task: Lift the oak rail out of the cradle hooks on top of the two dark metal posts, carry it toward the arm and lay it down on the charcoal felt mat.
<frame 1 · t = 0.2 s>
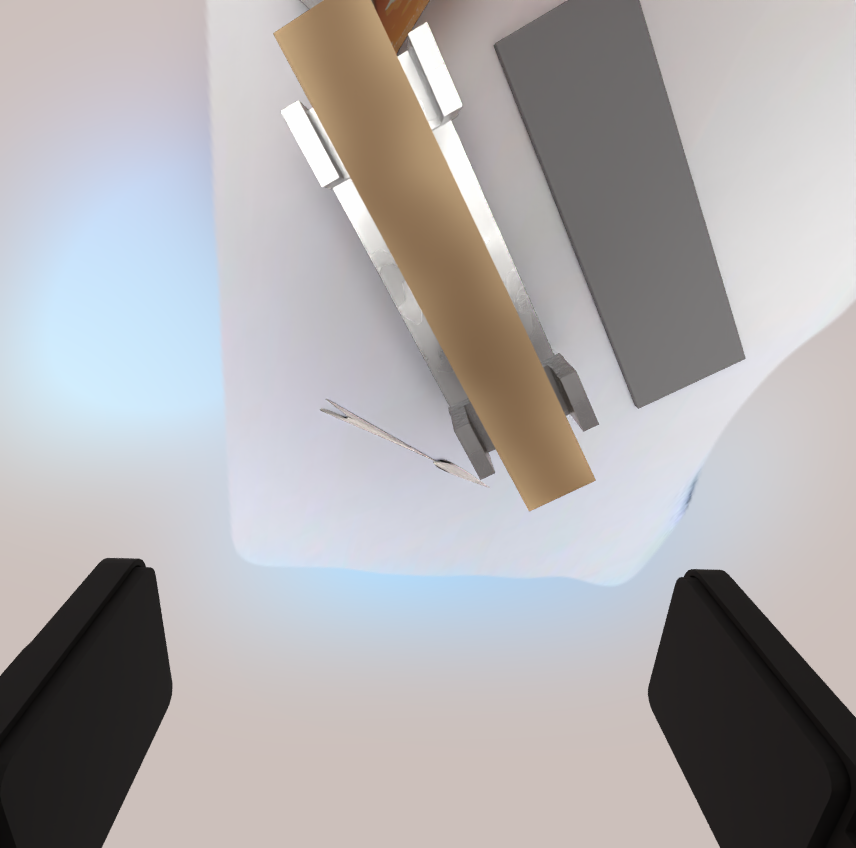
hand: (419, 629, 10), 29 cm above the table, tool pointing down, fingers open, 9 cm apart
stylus: (434, 456, 42), on the table
rail: (453, 280, 26), point 11 cm above the table, touching rack
mat: (630, 217, 35), on the table
rack: (440, 257, 36), on the table
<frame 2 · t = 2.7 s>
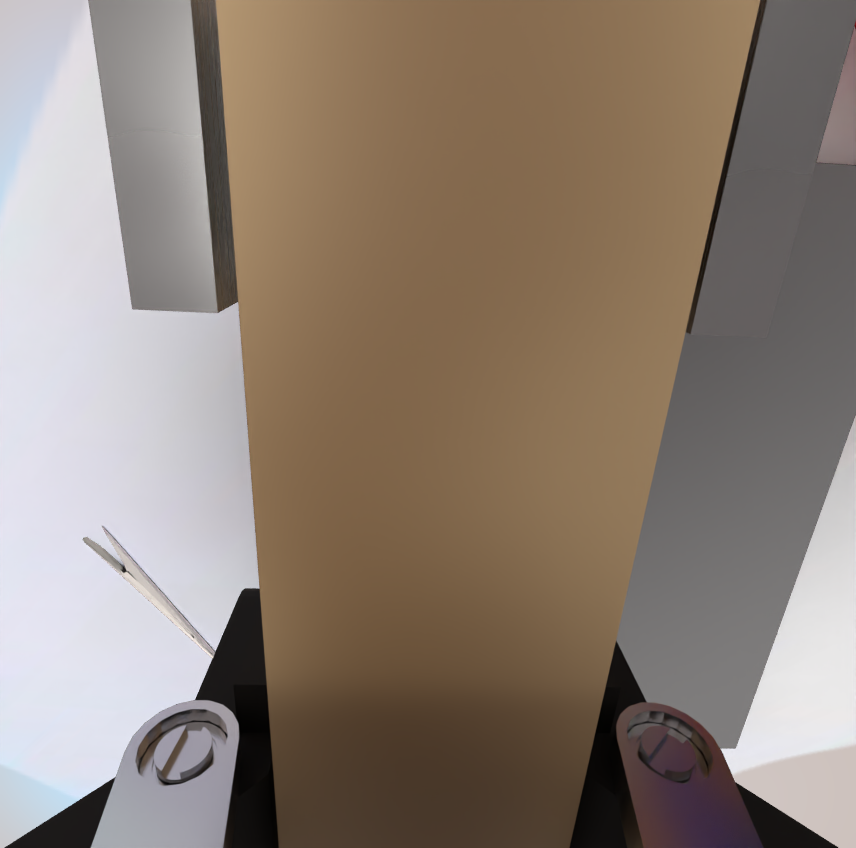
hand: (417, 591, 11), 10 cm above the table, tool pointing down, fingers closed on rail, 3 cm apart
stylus: (248, 674, 25), on the table
rail: (419, 637, 10), point 11 cm above the table, touching gripper, small box
mat: (710, 510, 22), on the table
rack: (413, 417, 20), on the table
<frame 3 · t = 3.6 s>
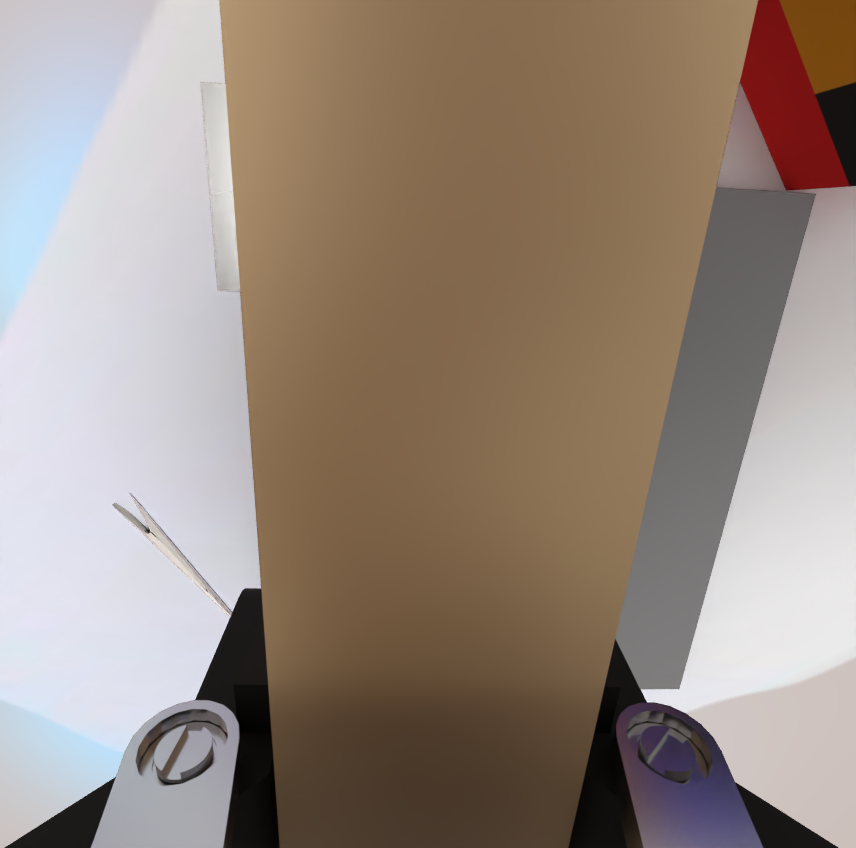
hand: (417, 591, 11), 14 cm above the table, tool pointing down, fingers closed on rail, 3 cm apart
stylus: (254, 627, 28), on the table
rail: (419, 635, 10), point 15 cm above the table, touching gripper
mat: (647, 476, 26), on the table
rack: (395, 397, 24), on the table
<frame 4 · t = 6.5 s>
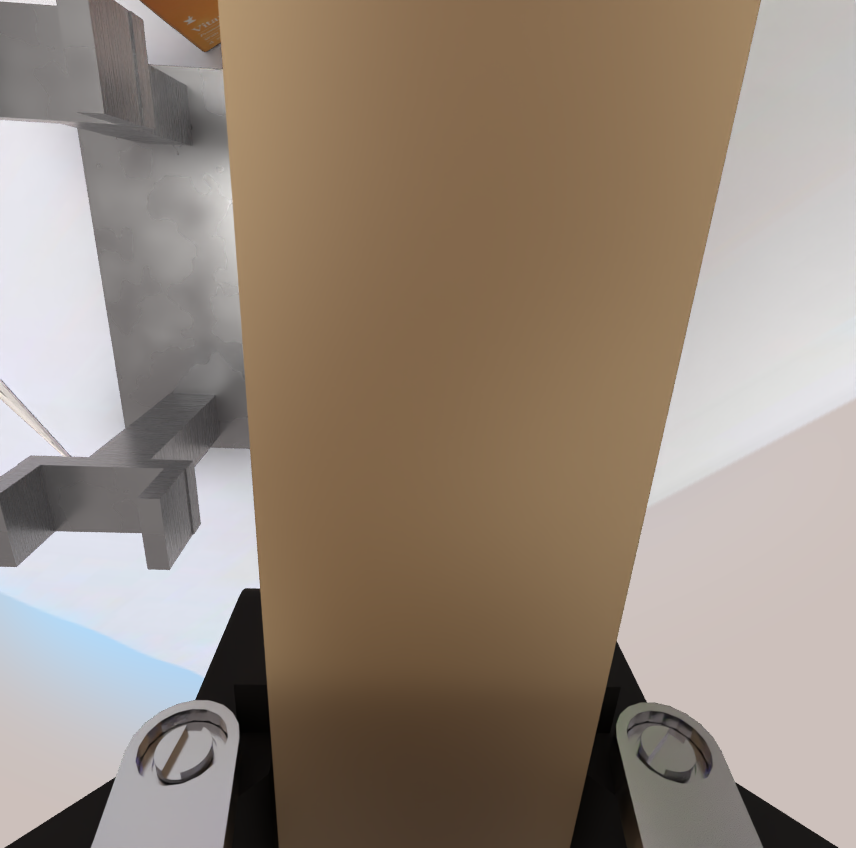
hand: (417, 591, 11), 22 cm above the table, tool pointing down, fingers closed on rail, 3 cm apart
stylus: (101, 480, 34), on the table
rail: (419, 638, 10), point 23 cm above the table, touching gripper
rack: (187, 276, 29), on the table
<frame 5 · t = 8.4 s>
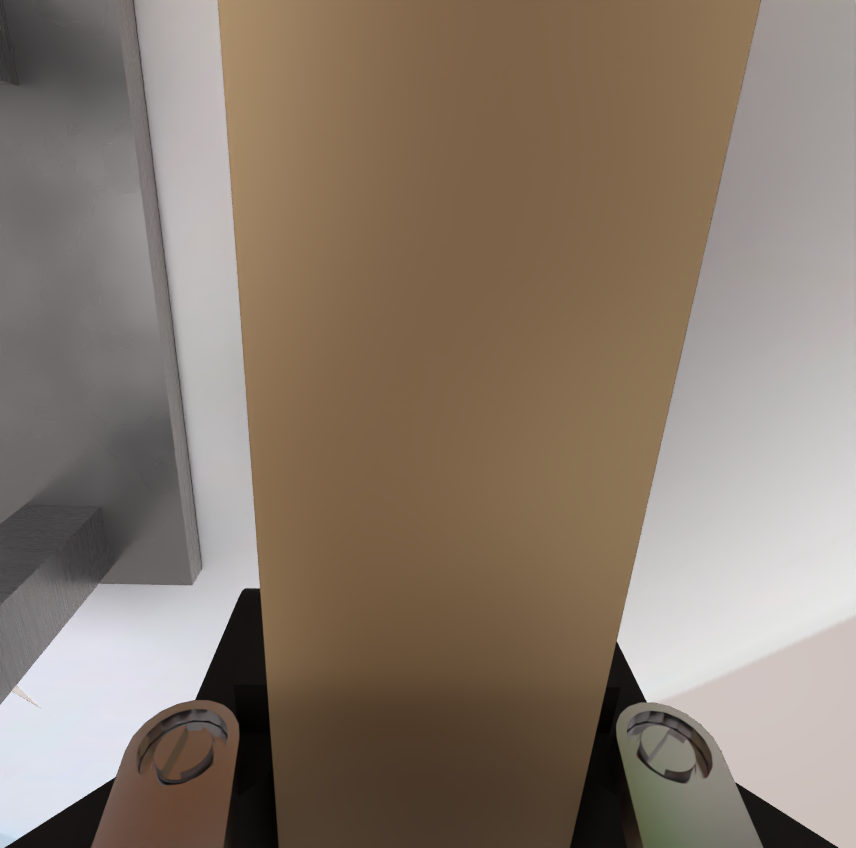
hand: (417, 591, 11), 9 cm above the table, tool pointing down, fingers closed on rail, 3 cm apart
rail: (419, 639, 10), point 10 cm above the table, touching gripper
rack: (43, 317, 17), on the table
when the fingers open (1 cm above the table, at t = 10.3 s): rail drops 2 cm, resting on mat.
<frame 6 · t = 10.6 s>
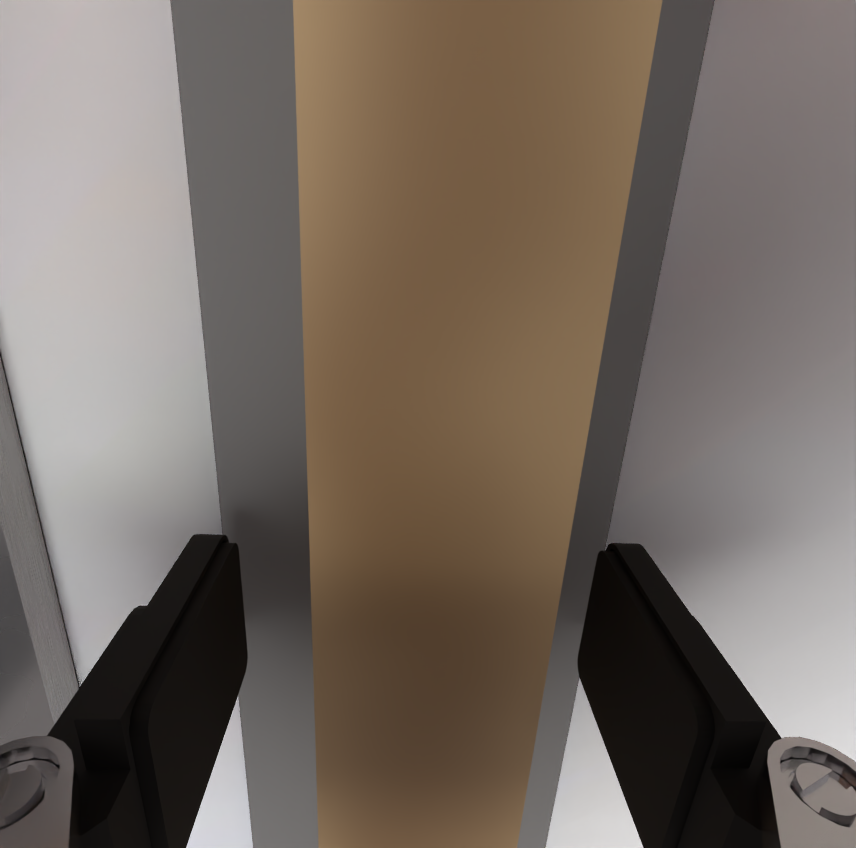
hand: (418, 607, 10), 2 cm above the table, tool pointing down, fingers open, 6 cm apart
rail: (422, 567, 12), point 1 cm above the table, touching mat
mat: (415, 568, 12), on the table
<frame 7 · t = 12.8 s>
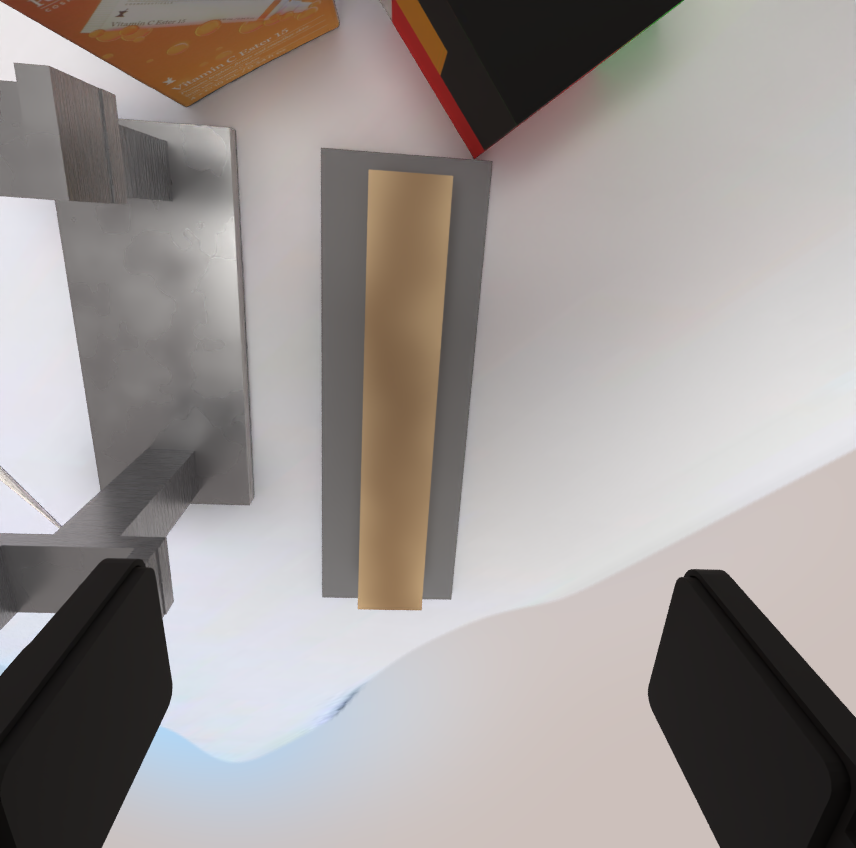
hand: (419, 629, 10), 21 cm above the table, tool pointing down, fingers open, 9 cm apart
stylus: (77, 531, 33), on the table
rail: (398, 400, 30), point 1 cm above the table, touching mat
mat: (396, 404, 30), on the table
rack: (166, 330, 28), on the table
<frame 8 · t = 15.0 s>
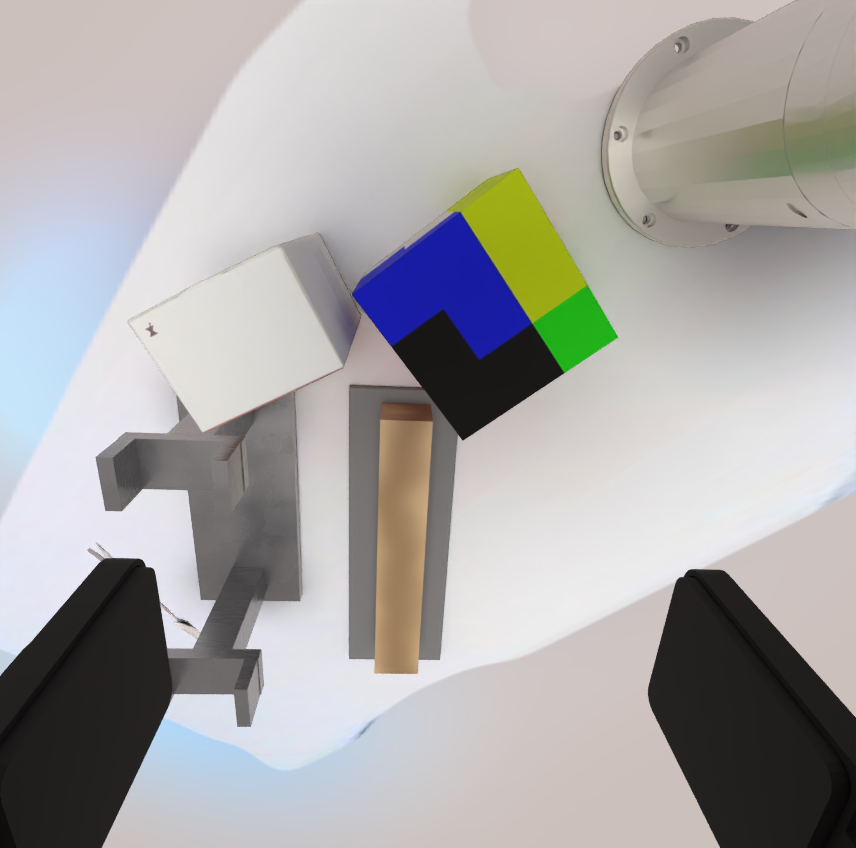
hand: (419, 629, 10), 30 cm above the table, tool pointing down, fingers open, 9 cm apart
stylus: (180, 614, 47), on the table
rail: (401, 533, 44), point 1 cm above the table, touching mat
puzzle toy: (467, 289, 38), on the table
mat: (399, 534, 44), on the table
small box: (291, 300, 38), on the table
rack: (246, 492, 42), on the table
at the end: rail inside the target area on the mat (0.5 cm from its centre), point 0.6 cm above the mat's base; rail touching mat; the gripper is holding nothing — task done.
